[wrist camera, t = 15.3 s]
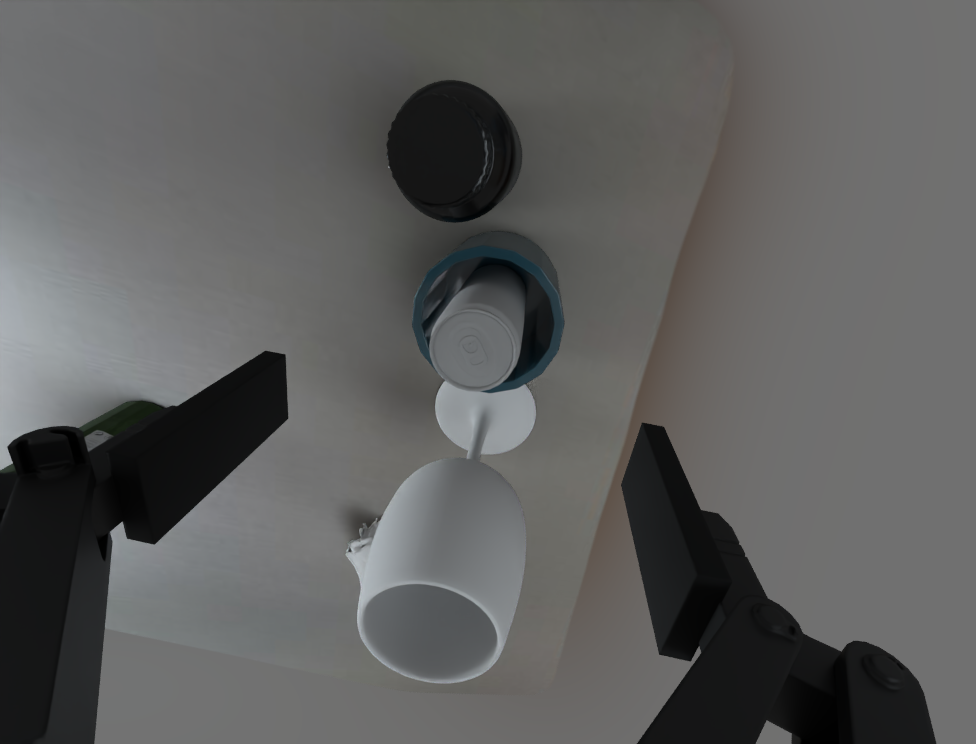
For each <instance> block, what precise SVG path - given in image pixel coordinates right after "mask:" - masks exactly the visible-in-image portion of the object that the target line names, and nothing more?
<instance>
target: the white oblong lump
mask: <svg viewBox="0 0 976 744" xmlns="http://www.w3.org/2000/svg"><path fill="white" fill-rule="evenodd" d="M377 519H378V518H376V519H375V520H376V521H374V522H373V523H372V524H371V526H370V527H369V528H368V529H367V526H366V523H362V524H363V528H360V529H359V535H360V539H357V540H354V541H353V539H352V540H351V541H350V542H347V544H348V549H347V552H346V554H345V555H346V556H347V557H348V559H349V560H350V561H351V563H352V564H353V565H354V567H355V569H356V572H357V573H358V575H359V580H360V584H361V587H362V582H363V577H364V572H365V567H366V563H367V559H368V555H369V552H370V548H371V545H372V542H373V539H374V536H375V533H376V530H377V528H378V525H379V523H380V521H381V519H382V517H381V519H380V521H378V522H377Z"/></svg>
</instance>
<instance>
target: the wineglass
mask: <svg viewBox="0 0 976 744" xmlns="http://www.w3.org/2000/svg"><path fill="white" fill-rule="evenodd" d="M435 412H436V417H437V420H438V423H439V425H440V427H441V429H442V430H443V432H444V433H445V435H446V436H447V437H448V438H449V439H450V440H451V441H452V442H454V443H455V444H456V445H458V446H460V447H461V448H463V449H465V450H468V454H467V457H466V458H446V459H441V460H437V461H434V462H432V463H429V464H427V465H425V466H423V467H421V468H420V469H418V470H417V471H415V472H414V473H413V474H411V475H410V476H409V477H408V478H407V479H406V480H405V481H404V482H403V484H402V485H401V486H400V487H399V489H398V490H397V492H396V493H395V495H394V496H393V498H392V500H391V501H390V503H389V505H388V507H387V508H386V510H385V512H384V514H383V516H382V519H381V521H380V523H379V525H378V528H377V530H376V533H375V536H374V539H373V542H372V545H371V548H370V552H369V555H368V559H367V563H366V567H365V572H364V577H363V582H362V587H361V593H360V599H359V605H358V612H357V624H358V630H359V633H360V636H361V638H362V640H363V642H364V644H365V645H366V647H367V648H368V650H369V651H370V652H371V653H372V654H373V655H374V656H375V657H376V658H377V659H378V660H379V661H380V662H382V663H383V664H384V665H386V666H387V667H389V668H390V669H392V670H394V671H396V672H398V673H400V674H402V675H404V676H407V677H410V678H413V679H416V680H420V681H425V682H431V683H456V682H462V681H466V680H469V679H472V678H475V677H477V676H479V675H481V674H483V673H484V672H486V671H487V670H488V669H490V668H491V667H492V666H493V665H494V663H495V662H496V661H497V659H498V658H499V656H500V654H501V652H502V650H503V647H504V644H505V642H506V639H507V636H508V633H509V630H510V627H511V624H512V621H513V617H514V614H515V611H516V607H517V603H518V599H519V595H520V591H521V586H522V582H523V576H524V569H525V558H526V528H525V519H524V514H523V510H522V507H521V504H520V501H519V499H518V497H517V495H516V493H515V491H514V489H513V488H512V486H511V485H510V484H509V483H508V482H507V480H506V479H505V478H504V477H503V476H502V475H501V474H500V473H498V472H497V471H496V470H494V469H493V468H491V467H489V466H488V465H486V464H484V463H481V462H480V456H481V454H488V455H490V454H499V453H503V452H507V451H509V450H511V449H513V448H515V447H517V446H518V445H520V444H521V443H522V442H523V441H524V440H525V439H526V438H527V437H528V435H529V434H530V432H531V431H532V428H533V426H534V423H535V418H536V407H535V402H534V399H533V396H532V394H531V392H530V390H529V389H528V387H527V386H526V385H525V384H524V385H523V386H521V387H519V388H517V389H513V390H507V391H501V392H496V393H485V392H475V391H466V390H462V389H458V388H456V387H454V386H453V385H451V384H449V383H447V382H446V381H444V383H443V384H442V385H441V387H440V389H439V391H438V393H437V397H436V402H435Z"/></svg>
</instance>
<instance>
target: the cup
mask: <svg viewBox="0 0 976 744" xmlns="http://www.w3.org/2000/svg"><path fill="white" fill-rule="evenodd" d="M487 265H502V266H505V267H508V268H510V269H511V270H513V271H515V272H516V273H517V274H518V275H519V276H520V277H521V279H522V281H523V283H524V285H525V289H526V305H525V315H524V328H523V335H522V343H521V350H520V355H519V358H518V361H517V364H516V366H515V368H514V369H513V371H512V372H511V374H510V375H509V376H508V378H507V379H506V380H504V381H503V382H502V383H501V384H500V385H498V386H496V387H494V388H492V389H490V390H485V391H480V392H485V393H496V392H501V391H507V390H513V389H517V388H519V387H521V386H523V385H524V384H526V383H528V382H529V381H531V380H533V379H534V378H536V377H538V376H539V375H541V374H542V373H543V372H544V370H545V369H546V367H547V366H548V365H549V363H550V362H551V361H552V359H553V358H554V357H555V355H556V354H557V352H558V350H559V346H560V341H561V337H562V333H563V328H564V315H563V308H562V300H561V293H560V288H559V283H558V277H557V272H556V269H555V268H554V266H553V264H552V262H551V261H550V259H549V257H548V256H547V255H546V254H545V252H544V251H543V250H542V249H541V248H540V247H539V246H538V245H536V244H535V243H534V242H532V241H531V240H529V239H527V238H525V237H523V236H521V235H518V234H515V233H511V232H505V231H491V232H485V233H482V234H479V235H476V236H473V237H470V238H469V239H467V240H466V241H465V242H463V243H462V244H461V245H459V246H458V247H457V248H455V249H454V250H453V251H452V252H450V253H449V254H448V255H447V256H446V257H444V258H443V259H442V260H441V261H440V262H438V263H437V264H436V265H435V266H433V267H432V268H431V269H430V270H429V271H428V272H427V274H426V276H425V278H424V280H423V281H422V283H421V285H420V287H419V289H418V291H417V292H416V294H415V297H414V306H413V318H412V327H413V330H414V333H415V336H416V339H417V342H418V345H419V349H420V351H421V353H422V354H423V356H424V357H425V358H426V359H427V361H428V362H429V363H430V364H431V365H432V367H433V368H434V366H433V363H432V360H431V357H430V348H429V344H430V338H431V333H432V329H433V327H434V325H435V323H436V322H437V320H438V318H439V317H440V315H441V314H442V313H443V311H444V310H445V309H446V307H447V306H448V304H449V303H450V302H451V300H452V299H453V298H454V296H455V295H456V294H457V292H458V291H459V290H460V288H461V287H462V285H463V284H464V283H465V281H466V280H467V279H468V277H469V276H470V275H471V274H472V273H473V272H474V271H476V270H477V269H479V268H481V267H483V266H487ZM434 369H435V368H434ZM435 370H436V369H435ZM436 372H437V371H436ZM437 373H438V372H437Z"/></svg>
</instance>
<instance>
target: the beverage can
mask: <svg viewBox="0 0 976 744" xmlns="http://www.w3.org/2000/svg"><path fill="white" fill-rule="evenodd" d="M525 305H526V289H525V285H524V283H523V281H522V279H521V277H520V276H519V275H518V274H517V273H516V272H515V271H513V270H511V269H510V268H508V267H505V266H502V265H487V266H483V267H481V268H479V269H477V270H476V271H474V272H473V273H472V274H471V275H470V276H469V277H468V279H467V280H466V281H465V283H464V284H463V285H462V287H461V288H460V290H459V291H458V292H457V294H456V295H455V296H454V298H453V299H452V300H451V302H450V303H449V304H448V306H447V307H446V309H445V310H444V311H443V313H442V314H441V315H440V317H439V318H438V320H437V322H436V323H435V325H434V327H433V329H432V333H431V338H430V344H429V348H430V357H431V360H432V363H433V366H434V368H435V369H436V371H437V372H438V374H439V375H440V376H441V377H442V378H443V379H444V380H445V381H446V382H447V383H449V384H451V385H453V386H454V387H456V388H458V389H462V390H466V391H475V392H480V391H485V390H490V389H492V388H494V387H496V386H498V385H500V384H501V383H502V382H503V381H504V380H506V379H507V378H508V376H509V375H510V374H511V372H512V371H513V369H514V368H515V366H516V364H517V361H518V358H519V355H520V350H521V343H522V335H523V328H524V315H525Z"/></svg>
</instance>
